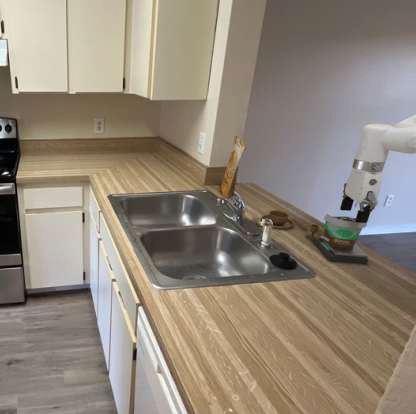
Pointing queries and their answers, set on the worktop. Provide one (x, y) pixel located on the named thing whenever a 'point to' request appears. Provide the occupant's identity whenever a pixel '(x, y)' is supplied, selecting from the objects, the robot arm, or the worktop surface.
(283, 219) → the place setting
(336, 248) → the pan
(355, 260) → the scale
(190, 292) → the worktop surface
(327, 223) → the food container
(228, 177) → the pancake mix bag
